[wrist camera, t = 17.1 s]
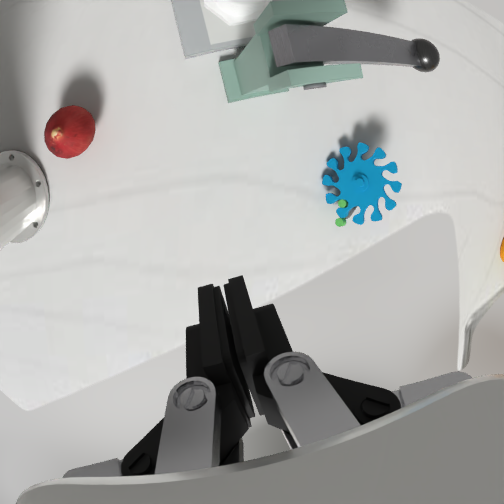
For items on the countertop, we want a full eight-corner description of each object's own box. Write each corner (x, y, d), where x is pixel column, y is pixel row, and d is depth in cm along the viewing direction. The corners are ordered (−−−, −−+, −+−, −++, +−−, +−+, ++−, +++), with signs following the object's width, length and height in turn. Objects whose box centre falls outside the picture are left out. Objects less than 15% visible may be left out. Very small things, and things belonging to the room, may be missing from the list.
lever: (274, 77, 16) (318, 67, 13) (261, 24, 15) (302, 6, 12) (417, 72, 25) (447, 72, 22) (411, 41, 23) (440, 39, 20)
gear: (347, 126, 34) (416, 172, 30) (358, 136, 39) (418, 177, 35) (301, 199, 39) (363, 248, 35) (318, 200, 44) (373, 243, 40)
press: (199, 113, 32) (201, 110, 14) (170, -5, 25) (151, -102, 7) (314, 90, 33) (424, 80, 15) (285, -22, 26) (361, -105, 8)
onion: (84, 162, 32) (58, 176, 25) (52, 136, 30) (20, 144, 23) (112, 123, 31) (90, 126, 24) (78, 96, 28) (50, 94, 21)
